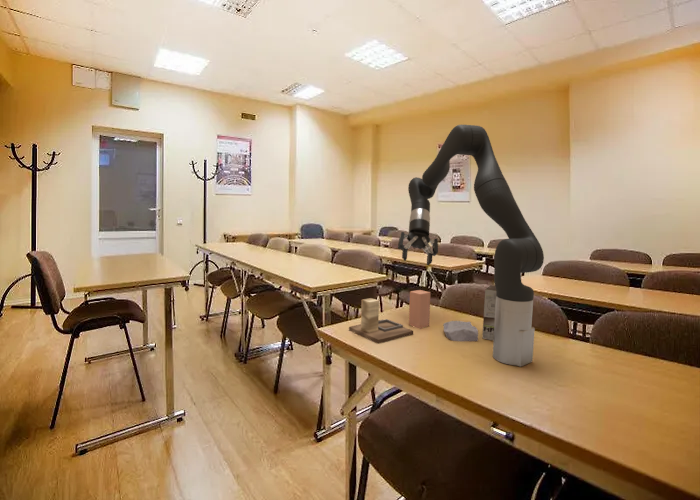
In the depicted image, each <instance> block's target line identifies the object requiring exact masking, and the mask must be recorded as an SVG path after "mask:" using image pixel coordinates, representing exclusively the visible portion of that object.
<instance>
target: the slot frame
mask: <svg viewBox="0 0 700 500" xmlns="http://www.w3.org/2000/svg"><path fill="white" fill-rule="evenodd" d="M379 320H380V321H378V324H380V323H384V322H388V323H390V324H393V325H396V326H394V327H390V328H386V329H384V328H382V327H379V326H378V329H379V330H381V331H384V332H386V331H390V330H395V329H399V328H403V327H404V325H403V324H401V323H398V322H396V321H393V320H390V319H388V318H385V319H383V320H382V319H379Z"/></svg>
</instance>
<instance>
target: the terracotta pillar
mask: <svg viewBox="0 0 700 500" xmlns="http://www.w3.org/2000/svg"><path fill="white" fill-rule="evenodd" d="M408 307H409V308H408V309H409V311H408V312H409V313H408V325H409V326H410V325H411V326H410V327H413V326H414V327H413V328H416V329H424V328H427V326H428V327H430V316H431V315H430V313H431V291H425V290H423V289H422V290H421V289H417V290H411V291H409V306H408ZM423 327H424V328H423Z"/></svg>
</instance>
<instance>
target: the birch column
mask: <svg viewBox="0 0 700 500" xmlns="http://www.w3.org/2000/svg"><path fill="white" fill-rule="evenodd" d="M360 301H361V306H360V308H361V309H360V310H361V313H360V317H361V319H360V324H361V330H363V331H365V332H368V333H371V332H375V331H378V320H380V319H379V317H380V314H379V313H380V311H379V309H380V304H379V303H380V300H378V299H375V298H372V297H370V298H364V299H361V300H360Z"/></svg>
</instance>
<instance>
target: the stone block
mask: <svg viewBox="0 0 700 500" xmlns="http://www.w3.org/2000/svg"><path fill="white" fill-rule="evenodd" d="M442 326H443V333H444V335H445V337H446V338H447V339H448V340H450V341H453V342H478V340H479V330H478V328H477V327H476V326H474V325H472V322H471V321H461V320H450V321H447V322H444V323H443V325H442Z"/></svg>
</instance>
